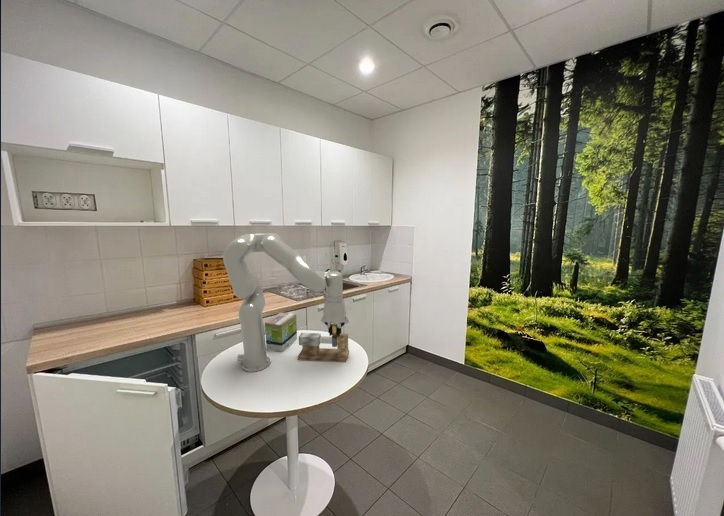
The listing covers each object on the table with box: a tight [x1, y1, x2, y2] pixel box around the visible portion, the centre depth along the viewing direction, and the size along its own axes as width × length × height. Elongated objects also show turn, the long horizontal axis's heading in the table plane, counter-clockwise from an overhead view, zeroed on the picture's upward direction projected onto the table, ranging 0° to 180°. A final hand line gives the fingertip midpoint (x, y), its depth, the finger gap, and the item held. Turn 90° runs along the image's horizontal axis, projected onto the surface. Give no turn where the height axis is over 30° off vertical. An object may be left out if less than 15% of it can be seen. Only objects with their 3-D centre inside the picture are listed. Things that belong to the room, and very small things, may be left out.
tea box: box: [264, 311, 298, 353], centre depth 156 cm, size 15×10×15 cm
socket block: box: [336, 332, 350, 357], centre depth 143 cm, size 4×5×10 cm
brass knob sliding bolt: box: [319, 323, 338, 348], centre depth 142 cm, size 14×4×10 cm, turn 84°
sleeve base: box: [297, 332, 350, 363], centre depth 144 cm, size 24×9×11 cm, turn 84°
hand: (334, 334), depth 142 cm, fingers open, 3 cm apart
